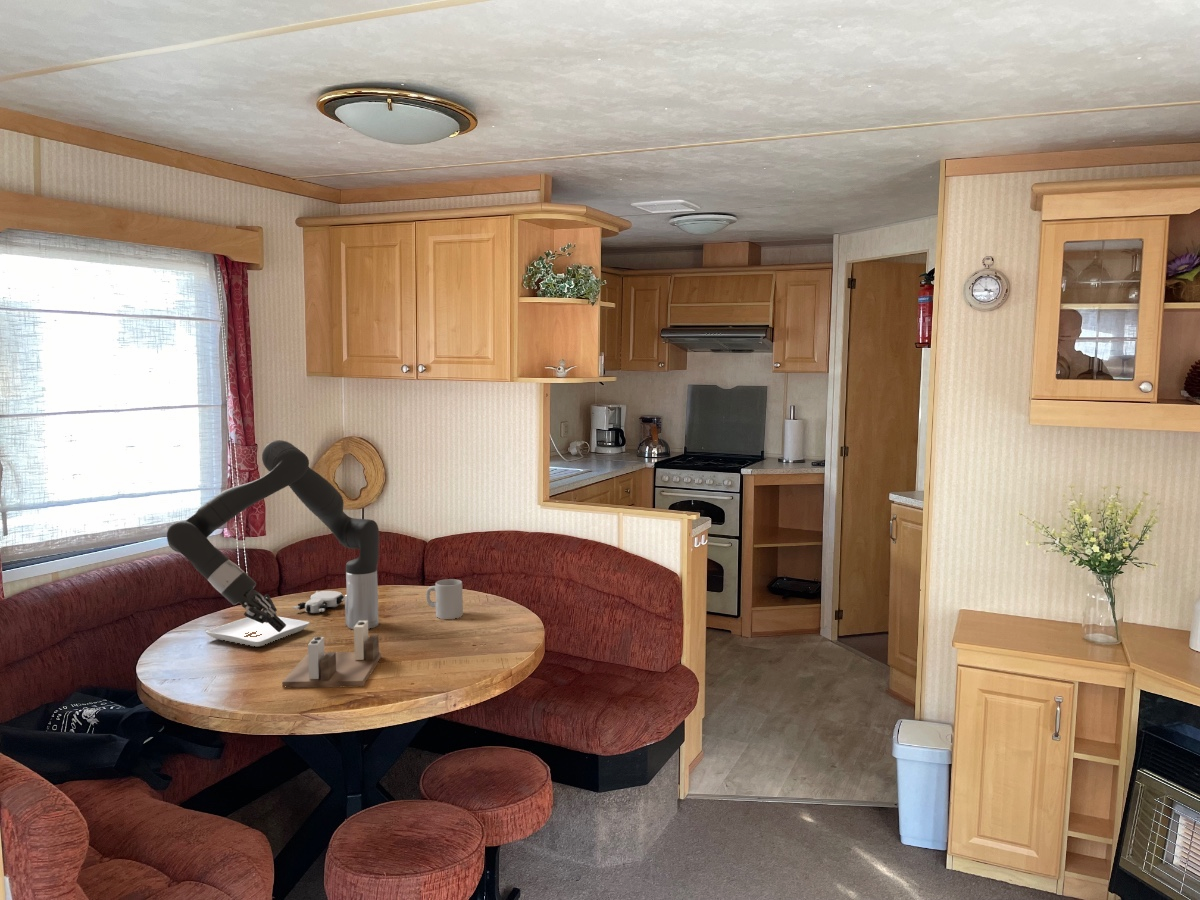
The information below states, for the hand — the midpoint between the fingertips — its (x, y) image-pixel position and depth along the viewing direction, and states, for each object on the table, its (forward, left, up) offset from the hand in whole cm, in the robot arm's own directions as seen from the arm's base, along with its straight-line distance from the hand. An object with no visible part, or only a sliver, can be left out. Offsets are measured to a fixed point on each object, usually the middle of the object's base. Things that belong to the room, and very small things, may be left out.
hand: (282, 628), depth 227 cm
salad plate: (-38, +19, -14) cm, 45 cm away
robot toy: (-46, +48, -14) cm, 68 cm away
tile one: (+5, +21, -12) cm, 25 cm away
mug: (-7, +65, -14) cm, 67 cm away
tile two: (+7, +5, -12) cm, 15 cm away
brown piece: (+4, +11, -14) cm, 18 cm away
